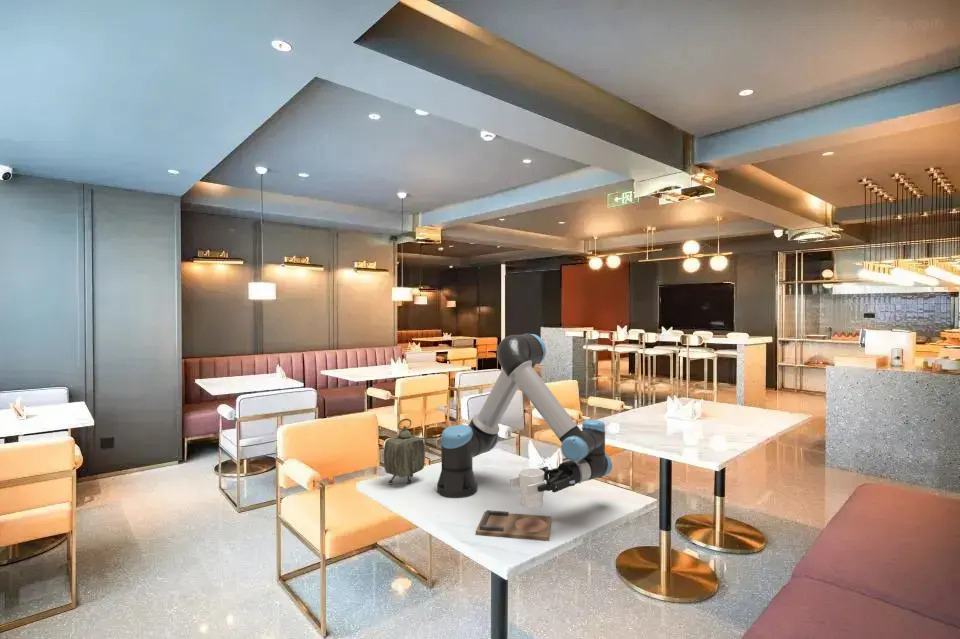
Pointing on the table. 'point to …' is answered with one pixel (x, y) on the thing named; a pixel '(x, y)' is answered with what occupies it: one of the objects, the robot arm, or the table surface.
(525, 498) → the white cup
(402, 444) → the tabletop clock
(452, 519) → the table surface
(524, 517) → the walnut board
